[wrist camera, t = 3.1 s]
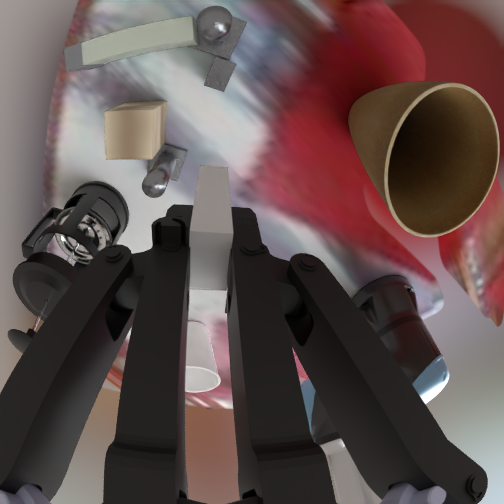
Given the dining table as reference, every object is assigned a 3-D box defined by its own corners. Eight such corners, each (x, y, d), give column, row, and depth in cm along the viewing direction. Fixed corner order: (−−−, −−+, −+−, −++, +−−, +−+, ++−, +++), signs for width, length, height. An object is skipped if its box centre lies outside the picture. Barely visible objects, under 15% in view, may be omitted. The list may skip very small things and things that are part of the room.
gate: (197, 24, 22) (192, 14, 17) (198, 45, 24) (193, 40, 19) (87, 49, 21) (64, 48, 17) (89, 69, 23) (66, 72, 18)
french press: (138, 191, 34) (71, 337, 16) (128, 247, 39) (84, 390, 21) (63, 172, 31) (-41, 290, 12) (61, 228, 36) (-11, 352, 17)
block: (167, 101, 28) (153, 109, 22) (165, 141, 31) (152, 159, 25) (126, 102, 27) (104, 111, 21) (126, 141, 30) (105, 159, 24)
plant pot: (296, 104, 30) (354, 135, 17) (388, 50, 25) (480, 60, 12) (352, 192, 37) (411, 264, 25) (428, 141, 33) (506, 190, 20)
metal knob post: (204, 9, 21) (198, -12, 14) (253, 25, 23) (265, 9, 16) (175, 73, 26) (158, 74, 19) (223, 88, 28) (224, 94, 20)
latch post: (156, 141, 30) (139, 162, 24) (187, 150, 32) (178, 174, 25) (148, 170, 33) (130, 198, 26) (177, 179, 34) (167, 209, 27)
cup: (159, 317, 49) (151, 368, 40) (211, 309, 48) (211, 363, 40) (177, 347, 55) (174, 394, 46) (224, 341, 54) (226, 389, 46)
